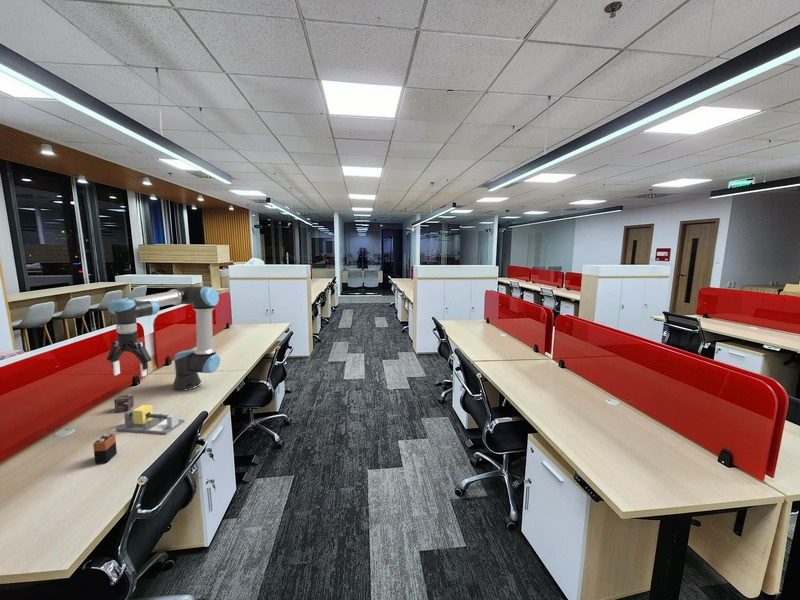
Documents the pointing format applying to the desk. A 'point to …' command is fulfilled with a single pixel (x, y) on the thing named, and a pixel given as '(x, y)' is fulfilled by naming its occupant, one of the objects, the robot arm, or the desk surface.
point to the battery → (105, 448)
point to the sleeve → (142, 414)
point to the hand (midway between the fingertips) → (130, 375)
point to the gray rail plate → (151, 423)
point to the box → (124, 403)
